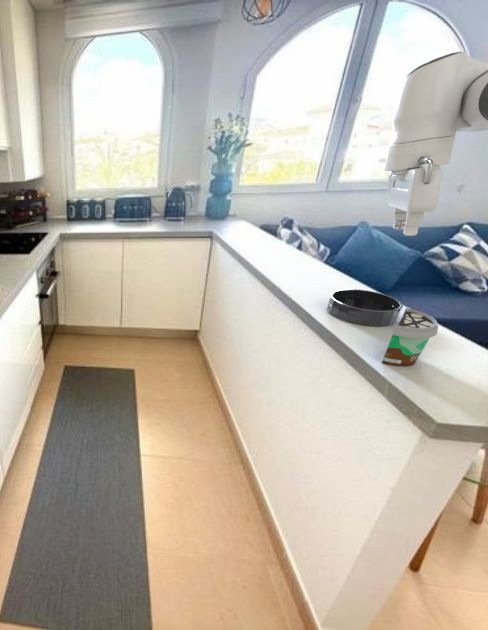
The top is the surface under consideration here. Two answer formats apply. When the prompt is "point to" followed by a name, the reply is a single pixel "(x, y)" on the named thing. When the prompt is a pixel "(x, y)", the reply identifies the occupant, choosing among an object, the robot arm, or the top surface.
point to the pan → (364, 307)
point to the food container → (410, 338)
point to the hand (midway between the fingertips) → (404, 232)
